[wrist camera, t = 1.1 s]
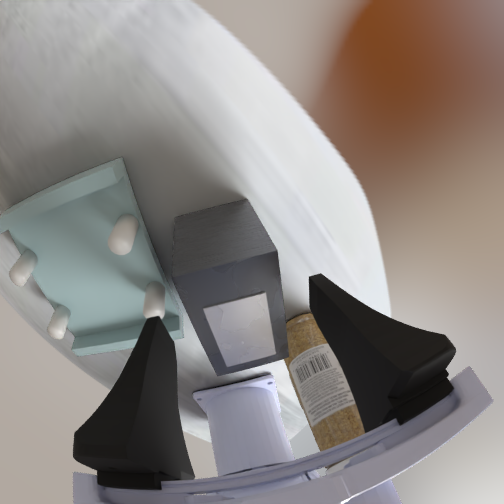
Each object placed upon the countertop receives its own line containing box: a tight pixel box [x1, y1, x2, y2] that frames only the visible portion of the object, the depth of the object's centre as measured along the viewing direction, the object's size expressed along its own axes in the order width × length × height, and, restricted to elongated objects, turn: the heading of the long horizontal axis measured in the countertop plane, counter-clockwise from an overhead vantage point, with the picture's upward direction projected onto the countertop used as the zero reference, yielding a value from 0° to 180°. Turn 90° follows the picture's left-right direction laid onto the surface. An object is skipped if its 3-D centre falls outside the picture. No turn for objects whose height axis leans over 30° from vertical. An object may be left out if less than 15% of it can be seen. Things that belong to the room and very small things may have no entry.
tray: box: [0, 157, 184, 357], centre depth 13 cm, size 11×8×3 cm
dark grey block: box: [172, 199, 289, 376], centre depth 14 cm, size 7×4×6 cm, turn 9°
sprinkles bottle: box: [284, 313, 368, 475], centre depth 16 cm, size 5×5×13 cm
